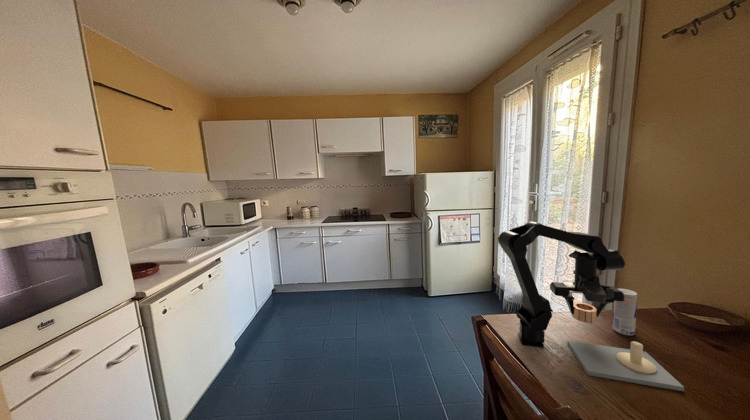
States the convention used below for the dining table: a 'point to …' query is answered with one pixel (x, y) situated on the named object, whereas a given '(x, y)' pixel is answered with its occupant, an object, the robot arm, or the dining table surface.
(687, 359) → the dining table surface
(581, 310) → the wooden slatted ring
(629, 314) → the beverage can
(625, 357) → the bobbin board
